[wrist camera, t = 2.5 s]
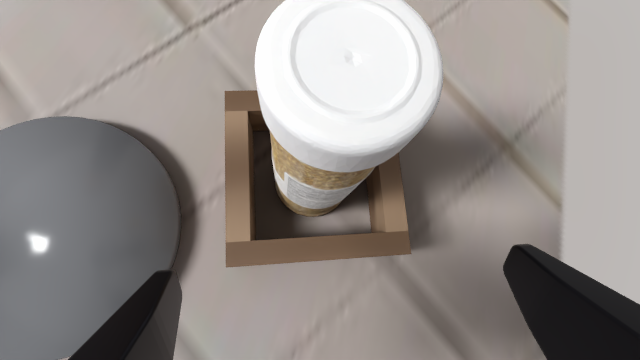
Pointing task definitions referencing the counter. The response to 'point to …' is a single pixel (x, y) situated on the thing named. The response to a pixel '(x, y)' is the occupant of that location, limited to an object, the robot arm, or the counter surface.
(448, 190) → the counter surface
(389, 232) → the walnut socket
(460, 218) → the counter surface
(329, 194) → the sprinkles bottle
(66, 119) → the slate plate
